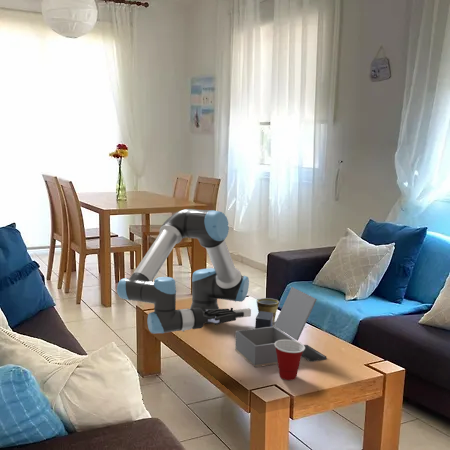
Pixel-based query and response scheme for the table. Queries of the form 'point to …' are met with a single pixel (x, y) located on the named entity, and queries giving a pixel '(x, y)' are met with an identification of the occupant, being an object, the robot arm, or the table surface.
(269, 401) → the table surface
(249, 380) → the table surface
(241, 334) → the grey open rectangular box
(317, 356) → the phone
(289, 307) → the lid
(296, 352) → the plastic cup
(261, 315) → the small box
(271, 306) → the ceramic cup
